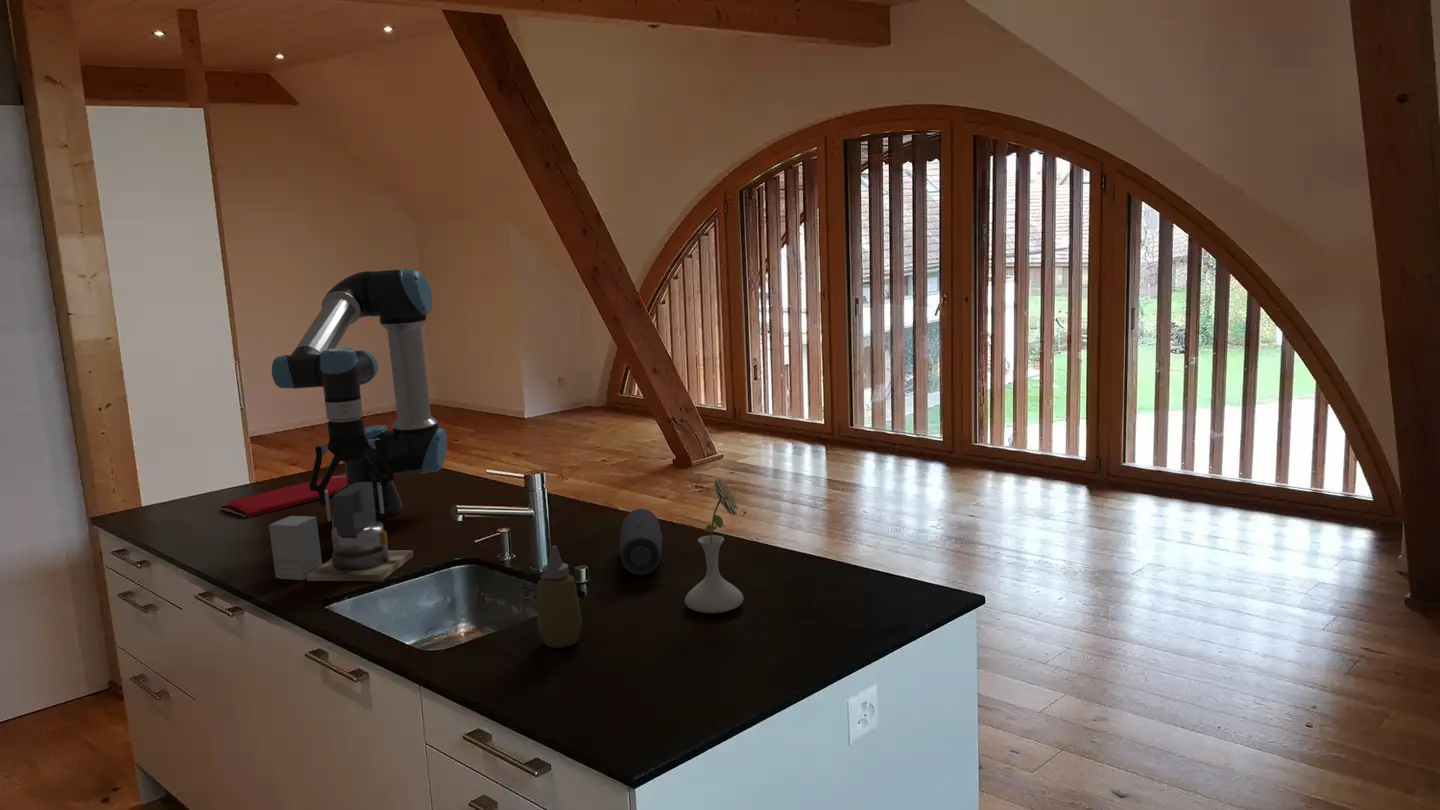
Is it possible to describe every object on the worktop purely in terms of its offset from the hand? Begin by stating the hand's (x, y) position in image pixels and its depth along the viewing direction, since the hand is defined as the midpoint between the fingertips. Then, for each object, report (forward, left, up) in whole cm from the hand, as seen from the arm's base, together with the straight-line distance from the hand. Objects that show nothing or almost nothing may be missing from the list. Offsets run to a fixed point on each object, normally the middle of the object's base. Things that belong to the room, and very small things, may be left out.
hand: (356, 515), depth 239 cm
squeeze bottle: (+41, +58, -13) cm, 72 cm away
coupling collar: (0, 0, -8) cm, 8 cm away
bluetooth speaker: (-3, +64, -13) cm, 65 cm away
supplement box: (+4, -13, -13) cm, 18 cm away
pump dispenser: (-18, -10, -13) cm, 24 cm away
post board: (0, 0, -12) cm, 12 cm away
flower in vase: (+23, +84, -13) cm, 88 cm away
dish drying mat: (-63, -49, -13) cm, 81 cm away
